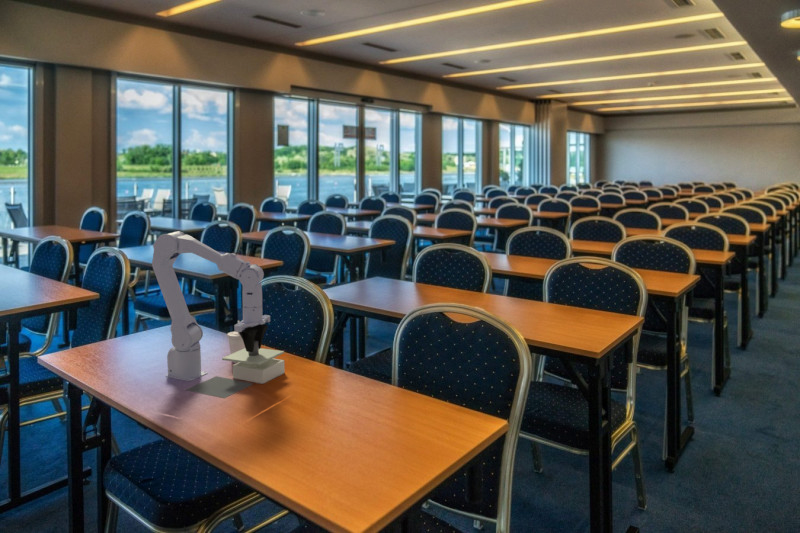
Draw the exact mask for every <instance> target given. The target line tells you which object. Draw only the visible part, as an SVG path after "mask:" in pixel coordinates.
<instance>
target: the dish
mask: <svg viewBox="0 0 800 533" xmlns="http://www.w3.org/2000/svg"><path fill="white" fill-rule="evenodd" d="M285 371H286V370H285V360H284V359H278V358H273V359H271V360H269V361H267V362H265V363H263V364H261V365H255V364H248V363H241V362H239V363H234V364H232V378H233V380H238V381H244V382H249V383H254V384H255V383H256V384H262V385H263V384H266V383H268V382H270V381H272V380H274V379H276V378H278V377H280V376H283V375H284V374H285Z"/></svg>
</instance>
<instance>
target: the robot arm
mask: <svg viewBox="0 0 800 533" xmlns="http://www.w3.org/2000/svg"><path fill="white" fill-rule="evenodd" d="M152 248H153V254H152V261H151V266H152V270H153V272H154V274H155V277H156V280H157V283H158V285H159V288H160V292H161V294H162V296H163V301H164V302H165V304H166V307H167V310H168V313H169V316H170V319H171V324H170V325H171V326H170V328H169V329H170V332H171V344H172V346H171V348H169V350H168V353H167V358H166V359H167V361H166V362H167V374H165V377H166V378H171V379H176V380H181V381H187V382H191V381H193V380H196V379H198V378H201V377H203V376H206V375H208V372H206V371H203V370H202V360H201V359H202V357H201V353H202V352H201V343H200V341H201V340H202V339H203V337H204V336H203V335H204V331H203V329H202V327H201V326H200V325H199V324H198V322H197V320H196V318H195V317H194V316H193V315H191V313H190V311H189V308H188V306H187V303H186V300H185V297H184V294H183V291H182V289H181V286H180V283H179V280H178V277H177V275H176V271H175V269H174V266H173V265H174V263H175V262H176V260H177V259H178V257H179V256H180V255H181V254H190V253H191V254H194V255H196V256H198V257H201V258H203V259H205V260H206V261H209V262H211V263H213V264H216V266H217V269H218V270H219V271H221V272H223V273H224V274H226V275H227V276H230V277H232V278H234V279H236V280H239V283H240V284H241V285H242V320H241V321H239V323H238V322H237V323H236V324H234V325H233V326H234V331H235V332H238V333H239V334H240V336H241V337H242V339H243V342H244V345H245V348H246V351H247V352H253V349H254V340H257V341H258V346H259V349H260V348H262V344H263V339H264V336H265V334H266V332H267V330H268V328H269V325H268V324H266V323H270V322H271V315H268V314H264V315H263V286H262V284H263V282H262V281H263V279H264V276H265V273H264V270H263V268H262V267H261V266H259V265H258V264H255V263H254V264H253V263H252V264H251V262H250V261H249V260H248V261H245V260H243V259H241V258H240V257H237V254H235V253H234V252H232V253H229V252H226V253H221V252H219V251H217V250H215V249H213V248H212V247H210V246H209V245H207V244H205V243H203V242H201V241H199V240H198V239H197V238H194V237H193V236H191V235H189V234H185V233H184V232H182V231H173V232H169V233H164V234H160V235H159V236H158V237H157V239H156V240H155V241H154V243H153V244H152ZM234 331H233V332H234Z"/></svg>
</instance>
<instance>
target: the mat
mask: <svg viewBox="0 0 800 533" xmlns="http://www.w3.org/2000/svg"><path fill="white" fill-rule="evenodd" d="M252 385H254V382H249V381H244V380H239V379H234V378H233V379H231V378H227V377H222V376H219V375H218V376H217V375H216V376H213V377H211V378H209V379H206V380H205V381H202V382H200V383H197V384H195V385H193V386H191V387H189V388H186V389H185V391H188V392H193V393H196V394H197V393H198V394H203V395H208V396H210V397H211V396H212V397H217V398H221V399H226V398H228V397H230V396H232V395H233V394H236V393H238V392H240V391H243V390H244V389H246V388H248V387H250V386H252Z"/></svg>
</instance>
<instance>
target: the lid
mask: <svg viewBox="0 0 800 533" xmlns="http://www.w3.org/2000/svg"><path fill="white" fill-rule="evenodd" d="M284 353H285V351H284V350H279V349H276V350H275V349H270V348H262V347H261V348H260V349H259V346H258V341H257V340H254V349H253V352H247V351H246V348H244V349H242V350H240V351H237V352H235V353H233V354H231V353H230V354H229V355H228V354H227V355H226V356H223V357H222V359H221V360H222V361H227V362H228V361H229V362H232V361H233V362H232V363H234V362H241V363H248V364H255V365H261V364H263V363H265V362H267V361H269V360H271V359H273V358H274V359H276V358H277V357H279V356H281V355H282V354H284Z"/></svg>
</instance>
